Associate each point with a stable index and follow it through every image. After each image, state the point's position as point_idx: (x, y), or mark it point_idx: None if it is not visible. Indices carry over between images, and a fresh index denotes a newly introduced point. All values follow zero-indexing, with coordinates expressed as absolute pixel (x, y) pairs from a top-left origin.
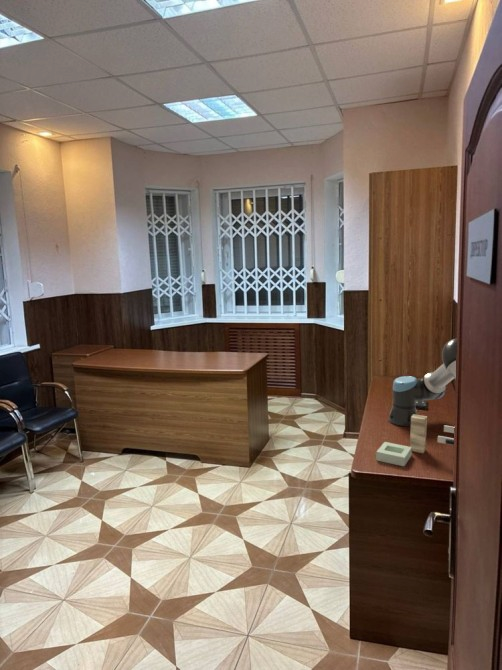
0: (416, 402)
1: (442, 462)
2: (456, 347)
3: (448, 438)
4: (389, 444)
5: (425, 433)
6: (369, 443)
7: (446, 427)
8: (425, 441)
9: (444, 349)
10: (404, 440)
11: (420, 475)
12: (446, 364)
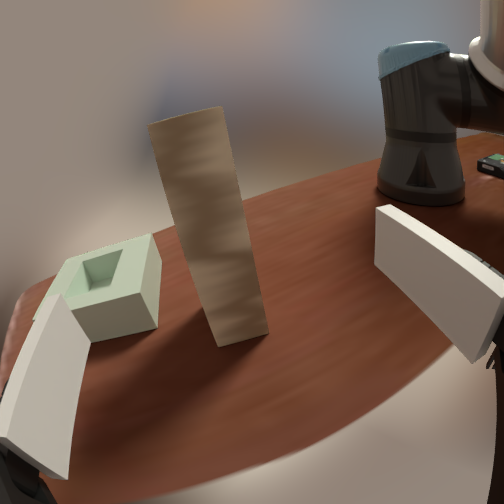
0: (501, 162)
1: (155, 467)
2: None
3: (12, 379)
4: (133, 247)
5: (219, 238)
6: None
7: (389, 232)
8: (245, 290)
9: None
10: (296, 247)
11: None
12: None
